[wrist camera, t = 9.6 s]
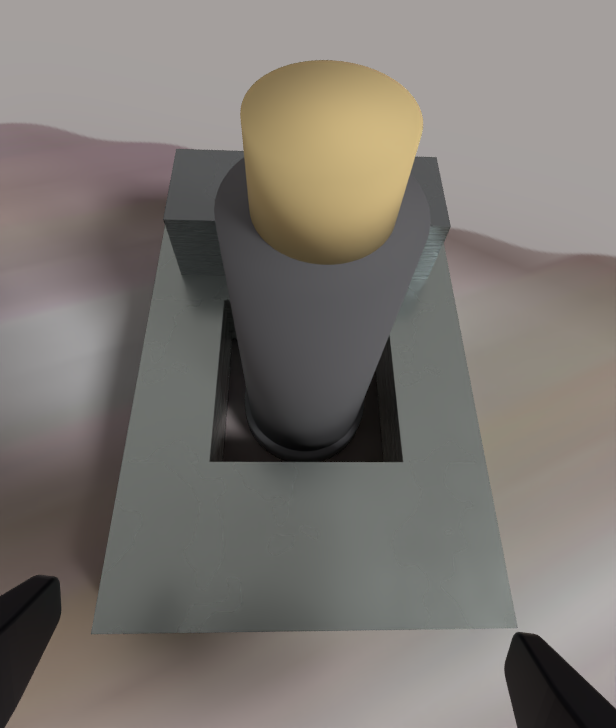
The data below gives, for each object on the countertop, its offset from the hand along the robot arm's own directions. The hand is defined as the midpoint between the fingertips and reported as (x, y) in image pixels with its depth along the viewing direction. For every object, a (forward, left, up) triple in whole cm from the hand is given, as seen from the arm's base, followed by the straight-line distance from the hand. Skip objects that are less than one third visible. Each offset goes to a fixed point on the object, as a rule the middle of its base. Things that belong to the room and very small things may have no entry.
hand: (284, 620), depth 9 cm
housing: (+6, -5, -7) cm, 11 cm away
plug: (+6, -5, -8) cm, 11 cm away
